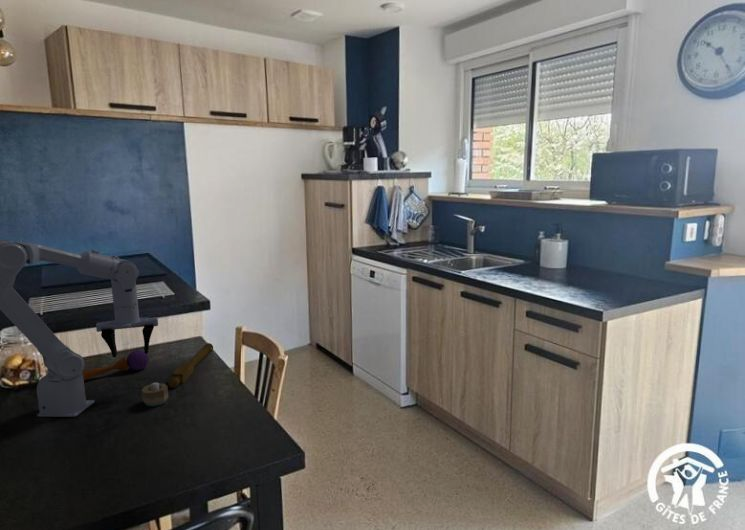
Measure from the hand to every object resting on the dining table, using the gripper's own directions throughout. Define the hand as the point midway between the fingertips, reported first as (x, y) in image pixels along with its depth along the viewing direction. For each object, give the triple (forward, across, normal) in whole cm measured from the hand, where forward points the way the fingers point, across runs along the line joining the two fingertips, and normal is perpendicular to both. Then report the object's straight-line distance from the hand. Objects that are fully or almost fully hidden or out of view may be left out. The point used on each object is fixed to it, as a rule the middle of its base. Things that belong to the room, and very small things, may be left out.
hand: (130, 354), depth 131 cm
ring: (+9, +6, -10) cm, 15 cm away
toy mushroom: (+10, +6, -10) cm, 16 cm away
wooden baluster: (+10, +14, +11) cm, 21 cm away
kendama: (+10, -8, +13) cm, 18 cm away
